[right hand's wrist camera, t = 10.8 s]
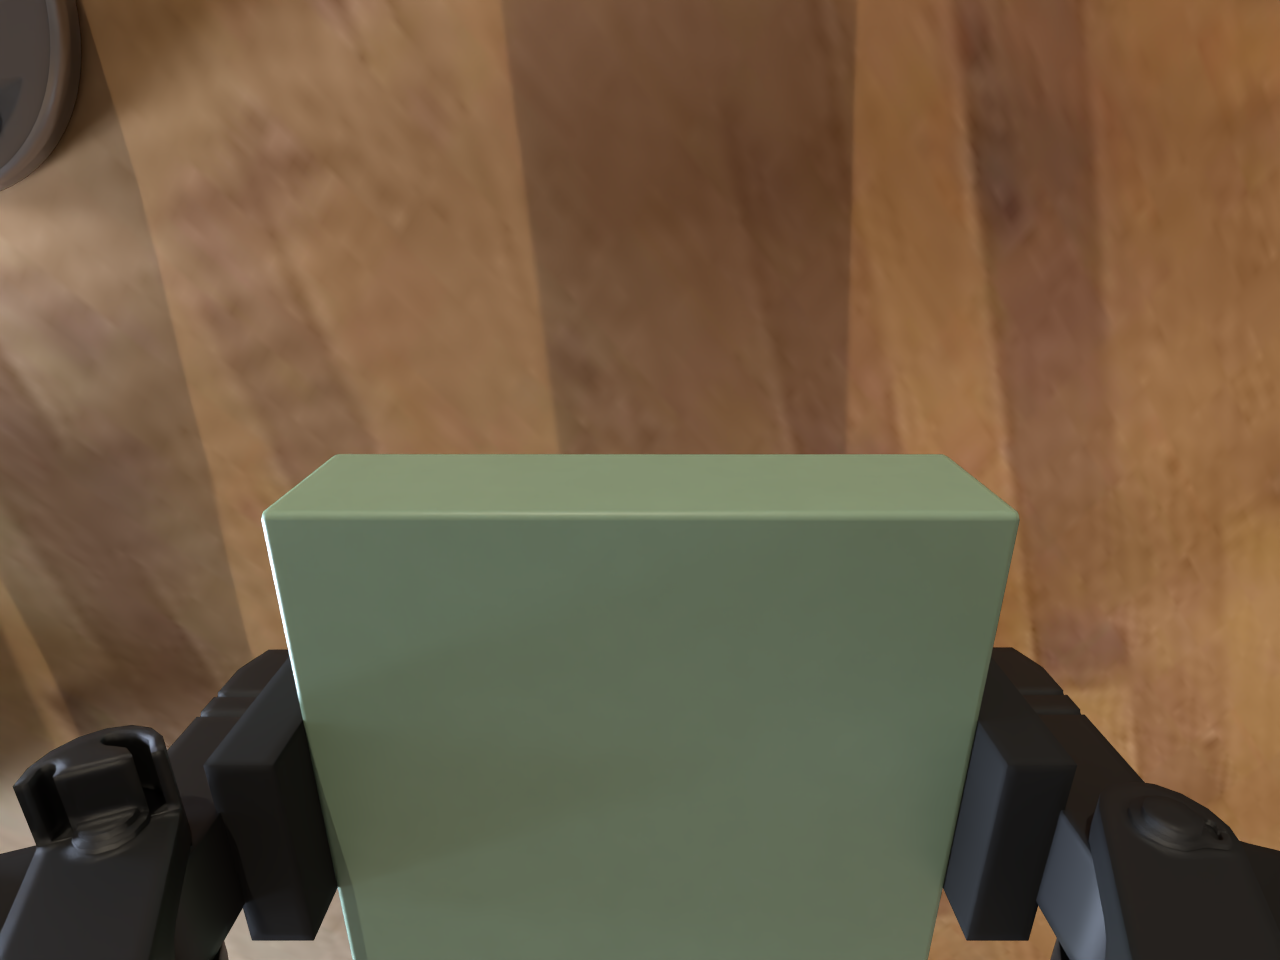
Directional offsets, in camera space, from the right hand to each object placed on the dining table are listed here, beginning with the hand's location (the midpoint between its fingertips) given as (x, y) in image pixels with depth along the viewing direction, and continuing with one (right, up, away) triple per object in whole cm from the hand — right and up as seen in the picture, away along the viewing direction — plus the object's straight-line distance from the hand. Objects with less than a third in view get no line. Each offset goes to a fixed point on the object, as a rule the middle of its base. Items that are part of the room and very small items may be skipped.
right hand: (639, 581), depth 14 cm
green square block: (0, -1, -2) cm, 2 cm away
